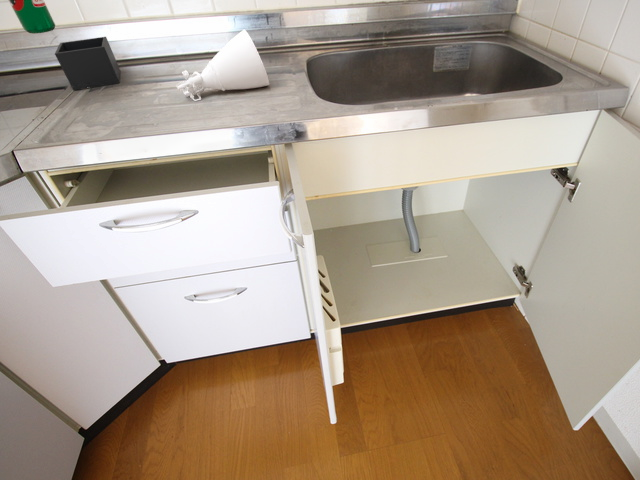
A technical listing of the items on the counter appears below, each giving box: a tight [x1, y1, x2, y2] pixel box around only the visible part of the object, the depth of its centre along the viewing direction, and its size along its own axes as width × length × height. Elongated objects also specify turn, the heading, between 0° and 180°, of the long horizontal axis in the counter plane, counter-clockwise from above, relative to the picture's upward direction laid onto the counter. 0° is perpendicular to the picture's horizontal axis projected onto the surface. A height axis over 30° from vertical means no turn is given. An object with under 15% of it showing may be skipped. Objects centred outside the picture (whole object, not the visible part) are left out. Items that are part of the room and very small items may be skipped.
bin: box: [54, 36, 121, 91], centre depth 94 cm, size 10×10×8 cm
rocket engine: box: [176, 29, 270, 102], centre depth 84 cm, size 12×12×18 cm
